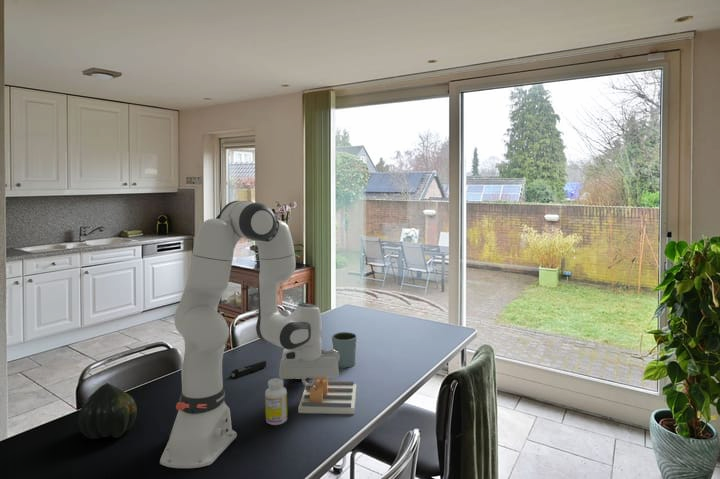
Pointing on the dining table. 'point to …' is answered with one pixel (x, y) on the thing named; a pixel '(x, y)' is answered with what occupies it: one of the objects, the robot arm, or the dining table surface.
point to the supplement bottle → (276, 402)
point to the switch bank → (331, 399)
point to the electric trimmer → (247, 369)
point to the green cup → (345, 348)
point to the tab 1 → (323, 385)
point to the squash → (107, 413)
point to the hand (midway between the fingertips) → (309, 389)
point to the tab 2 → (316, 394)
